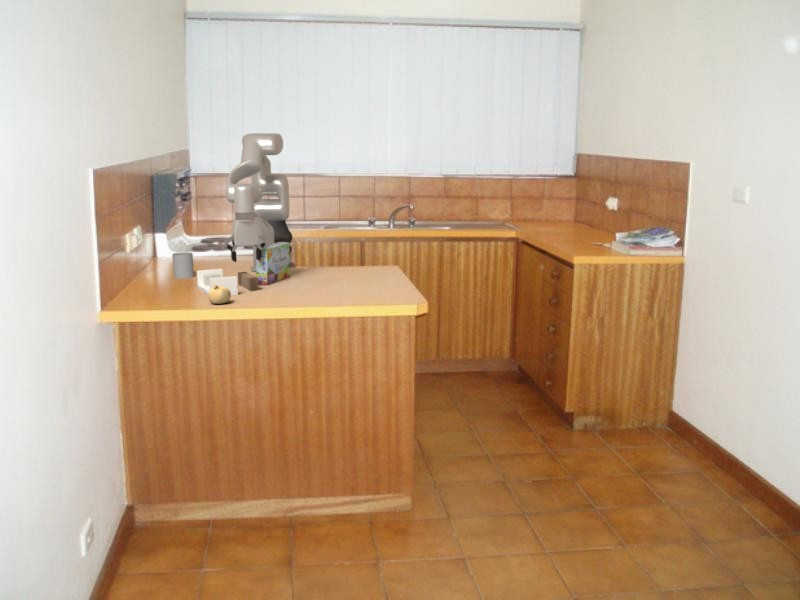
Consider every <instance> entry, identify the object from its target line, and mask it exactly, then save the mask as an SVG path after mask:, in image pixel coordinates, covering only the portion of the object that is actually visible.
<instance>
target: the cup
mask: <svg viewBox="0 0 800 600" xmlns="http://www.w3.org/2000/svg"><path fill="white" fill-rule="evenodd" d="M171 255H172V256H171V257H172V271H173V279H176V280H186V279H192V278H194V277H195V275H194V274H195V273H194V271H195V270H194V255H193V252H176V253H172V254H171Z"/></svg>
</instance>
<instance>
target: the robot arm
mask: <svg viewBox="0 0 800 600" xmlns="http://www.w3.org/2000/svg"><path fill="white" fill-rule="evenodd" d="M241 144H242V151H241V158H240V159H241V160H240V163H239V164H238V165H236V166H235V167H234V168H233V169H232V171H230V172H229V174H228V176H227V179H226V184H225V199H226V200H227V201H228V202H229V203H232V204H234V219H235V220H232V224H231V236H229V237H228V238H226V239H224V240H223V243H224V245H225V247H226V248H227V249H228V250H229V251H230V255H231V260H232V262H234V263H236V262H237V252H236V250H237V249H238V247H240V248H241V247H251V246H252V252H253V253H252V254H253V266H251V267H250V271H252V272H256V273H257V265H256V259H257V260H260V258H261V250H262V248H263V247H264V246H266V245H270V244H273V243H274V230H273V228H272V226H271V225H270V224H269V223H268V221H279V220H288V219H289V217H290V188H289V185H290V184H289V180H288V177H287V175H285V174H283V173H272V167H271V166H272V165H271V164H272V163H271V160H270V159H269V158H268V156H278V155H279V154H280V153H282V152H283V149H284V139H283V137H282V135H281V134H280V133H276V132H275V133H267V132H266V133H264V132H263V133H247V134H245V135H243V137H242V139H241ZM249 177H250V178H251V183H239V182H240V181H242V180H244V179H246V178H249ZM263 196H264V197H270V196H274V197H275V196H276V197H278V198H263ZM230 242H231V245H230ZM256 248H257V249H256Z"/></svg>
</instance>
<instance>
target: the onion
mask: <svg viewBox="0 0 800 600" xmlns="http://www.w3.org/2000/svg"><path fill="white" fill-rule="evenodd" d="M231 297H232V295H231V292H230V291H229V289H228V288H226V287H224V286H219V285H215V286H213V288H212V289H211V290H210V291H209V294H208V295H207V298H208V300H209V302H210V303H211V304H215V305H216V304H219V305H220V304H228V303H229V302H230V300H231Z"/></svg>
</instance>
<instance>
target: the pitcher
mask: <svg viewBox="0 0 800 600" xmlns="http://www.w3.org/2000/svg"><path fill="white" fill-rule="evenodd" d="M286 220H287V219H286ZM286 220H279V221H268V223H269V224H270V225H271V226H272V228H273V230H274V243H277V242H289V243H290V244H291V243H292V241H293V240H292V239H293V234H292V232H291V231H290V229H289V227H288V225H287V222H286Z"/></svg>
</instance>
